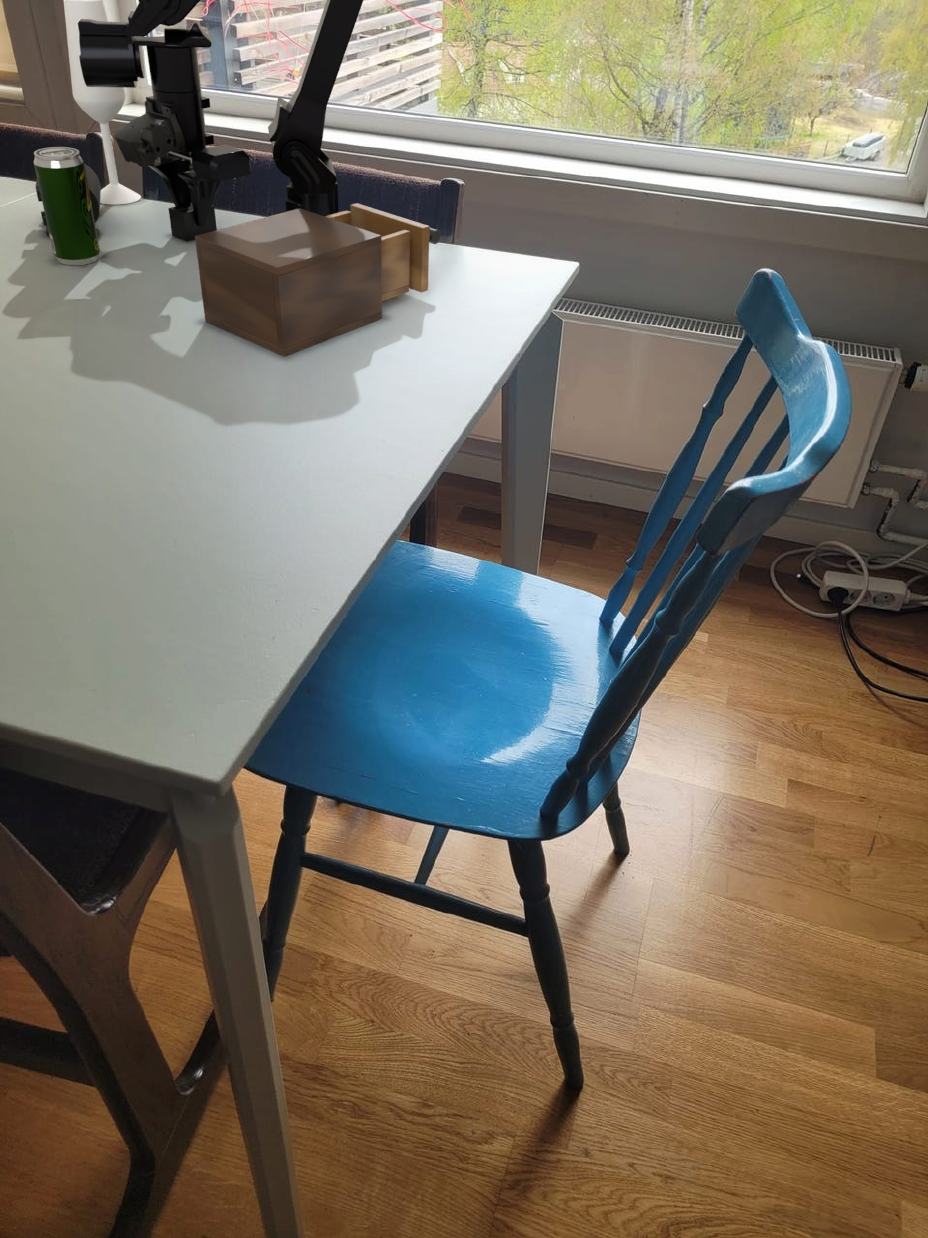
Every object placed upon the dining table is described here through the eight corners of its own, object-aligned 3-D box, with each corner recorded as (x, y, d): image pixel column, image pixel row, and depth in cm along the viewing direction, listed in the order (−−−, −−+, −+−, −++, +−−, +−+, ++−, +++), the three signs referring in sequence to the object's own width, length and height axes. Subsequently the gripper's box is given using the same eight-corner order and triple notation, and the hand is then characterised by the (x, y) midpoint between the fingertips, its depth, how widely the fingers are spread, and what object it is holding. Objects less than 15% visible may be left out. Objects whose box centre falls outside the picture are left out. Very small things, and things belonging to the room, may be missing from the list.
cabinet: (304, 288, 113) (299, 207, 108) (382, 318, 107) (381, 235, 102) (205, 321, 104) (194, 235, 99) (284, 356, 98) (277, 267, 93)
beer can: (62, 268, 114) (38, 160, 107) (49, 254, 118) (26, 148, 110) (107, 262, 117) (87, 155, 109) (93, 248, 120) (73, 144, 112)
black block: (202, 227, 128) (199, 200, 126) (217, 233, 127) (214, 205, 125) (171, 235, 125) (168, 207, 123) (186, 241, 124) (182, 213, 122)
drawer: (384, 256, 121) (383, 195, 116) (453, 280, 115) (456, 217, 111) (274, 292, 109) (269, 226, 105) (346, 321, 104) (344, 252, 99)
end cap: (104, 236, 124) (94, 180, 120) (46, 238, 122) (33, 181, 118) (105, 212, 131) (95, 159, 127) (50, 214, 129) (38, 160, 125)
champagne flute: (124, 206, 134) (90, 3, 118) (82, 200, 135) (43, -2, 120) (150, 194, 139) (121, -3, 123) (109, 188, 140) (75, -8, 125)
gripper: (72, 82, 115) (97, 218, 125) (169, 111, 106) (188, 254, 116) (150, 72, 122) (168, 201, 131) (248, 98, 113) (259, 234, 123)
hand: (193, 222), depth 125 cm, fingers closed on black block, 3 cm apart
